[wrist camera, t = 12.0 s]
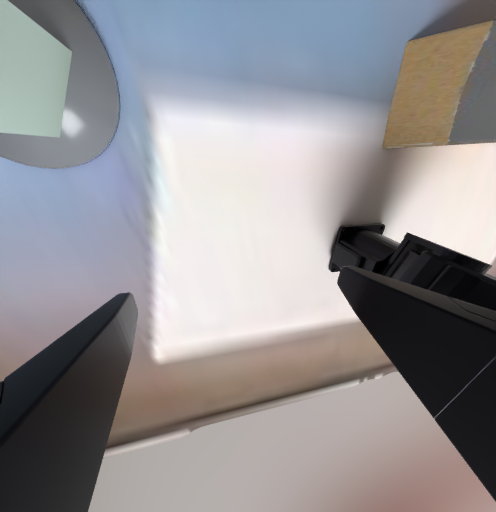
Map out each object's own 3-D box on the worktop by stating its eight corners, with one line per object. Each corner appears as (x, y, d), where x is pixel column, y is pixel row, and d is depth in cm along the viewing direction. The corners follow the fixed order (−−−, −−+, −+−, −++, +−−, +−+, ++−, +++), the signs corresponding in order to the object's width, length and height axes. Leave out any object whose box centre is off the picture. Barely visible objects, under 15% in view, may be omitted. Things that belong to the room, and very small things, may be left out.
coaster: (88, -45, 11) (83, -54, 10) (136, 168, 16) (134, 169, 16) (-201, -108, 9) (-226, -124, 8) (-35, 167, 14) (-43, 168, 13)
